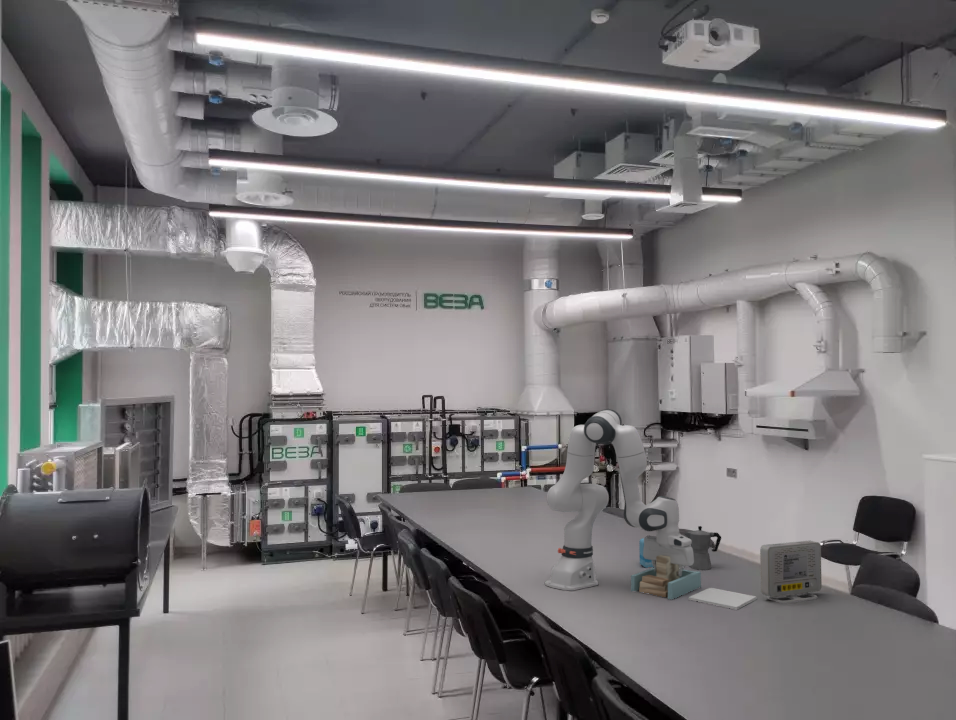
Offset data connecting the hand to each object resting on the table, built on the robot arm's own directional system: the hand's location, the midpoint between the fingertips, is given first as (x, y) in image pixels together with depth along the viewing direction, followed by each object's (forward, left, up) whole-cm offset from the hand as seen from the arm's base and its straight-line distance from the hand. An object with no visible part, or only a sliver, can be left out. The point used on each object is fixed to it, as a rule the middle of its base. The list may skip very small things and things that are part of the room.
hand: (668, 574), depth 280 cm
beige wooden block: (0, 0, -6) cm, 6 cm away
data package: (+29, +22, -6) cm, 37 cm away
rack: (-1, 0, -6) cm, 6 cm away
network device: (+20, -40, -6) cm, 45 cm away
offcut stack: (-10, 0, -6) cm, 11 cm away
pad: (0, -22, -6) cm, 23 cm away
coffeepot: (+41, +5, -6) cm, 42 cm away
